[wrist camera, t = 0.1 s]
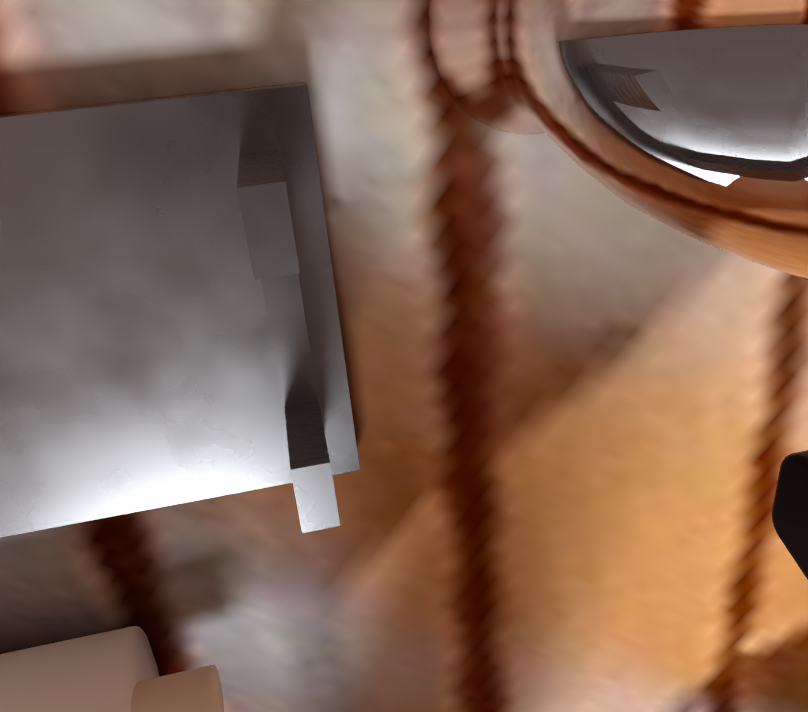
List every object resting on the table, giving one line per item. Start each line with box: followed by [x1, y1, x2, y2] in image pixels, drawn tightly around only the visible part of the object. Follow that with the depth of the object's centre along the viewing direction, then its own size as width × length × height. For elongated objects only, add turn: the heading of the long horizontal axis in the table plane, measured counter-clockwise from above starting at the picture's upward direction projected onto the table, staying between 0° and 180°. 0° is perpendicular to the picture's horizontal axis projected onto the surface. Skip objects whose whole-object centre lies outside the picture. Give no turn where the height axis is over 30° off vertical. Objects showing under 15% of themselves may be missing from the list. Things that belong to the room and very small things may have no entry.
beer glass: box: [428, 0, 808, 280], centre depth 13 cm, size 7×7×15 cm
